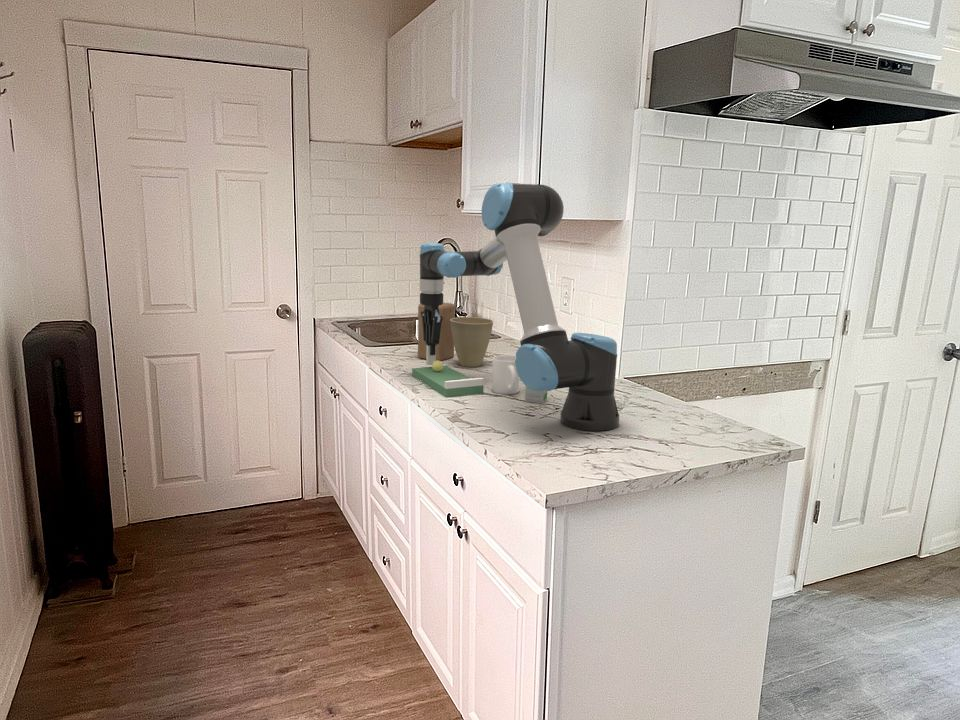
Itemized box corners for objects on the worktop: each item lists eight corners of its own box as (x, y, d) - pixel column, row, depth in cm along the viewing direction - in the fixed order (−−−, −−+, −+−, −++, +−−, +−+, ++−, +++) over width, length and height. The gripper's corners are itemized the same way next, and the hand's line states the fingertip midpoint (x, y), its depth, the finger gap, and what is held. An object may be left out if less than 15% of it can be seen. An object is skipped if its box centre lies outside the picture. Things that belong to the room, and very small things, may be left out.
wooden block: (455, 357, 256) (456, 303, 251) (439, 362, 247) (439, 306, 243) (433, 353, 261) (433, 300, 257) (416, 358, 253) (417, 303, 248)
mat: (483, 393, 207) (483, 378, 206) (446, 397, 202) (446, 382, 201) (445, 372, 231) (446, 359, 230) (412, 375, 226) (412, 362, 225)
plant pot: (468, 371, 234) (469, 325, 230) (441, 363, 245) (441, 319, 241) (500, 366, 243) (502, 321, 240) (473, 358, 254) (474, 315, 251)
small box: (543, 404, 198) (544, 387, 197) (523, 401, 199) (524, 385, 198) (547, 398, 203) (548, 382, 202) (528, 397, 205) (529, 380, 204)
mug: (527, 397, 204) (528, 363, 202) (500, 398, 201) (501, 364, 199) (513, 387, 215) (515, 354, 213) (488, 388, 213) (489, 355, 210)
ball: (444, 372, 221) (445, 361, 221) (434, 373, 220) (434, 362, 219) (440, 369, 224) (440, 359, 224) (430, 370, 223) (430, 359, 222)
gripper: (450, 294, 218) (449, 367, 223) (434, 289, 229) (434, 359, 234) (428, 295, 214) (427, 369, 219) (413, 290, 226) (413, 361, 231)
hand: (431, 364), depth 227 cm, fingers closed
